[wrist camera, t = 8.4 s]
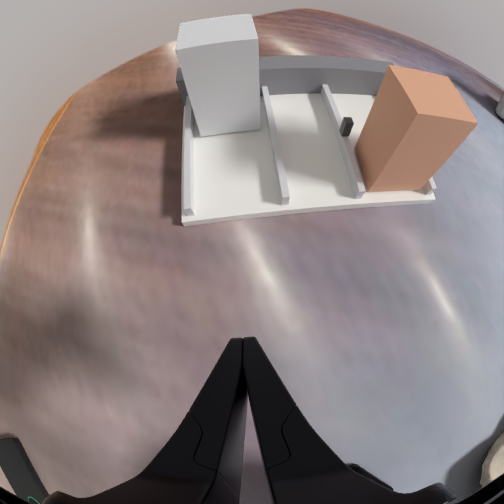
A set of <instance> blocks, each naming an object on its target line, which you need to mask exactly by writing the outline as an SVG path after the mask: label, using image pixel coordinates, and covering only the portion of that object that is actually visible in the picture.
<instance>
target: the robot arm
mask: <svg viewBox="0 0 504 504" xmlns="http://www.w3.org/2000/svg"><path fill="white" fill-rule="evenodd" d="M248 397H249V402H250V407H251V412H252V416H253V421H254V426H255V431H256V435H257V440H258V444H259V449H260V454H261V458H262V462H263V467H264V471H265V476H266V480H267V484H268V488H269V493H270V497H271V501H272V504H446V503H448V502H450V501H452V500H454V499H455V498H456V496H455V494H454V493H453V492H452V491H451V490H450V489H449V488H447V487H446V486H444V485H443V484H442V483H435V484H433V485H430V486H428V487H426V488H423V489H421V490H419V491H416V492H413V493H406V494H404V493H398V492H395V491H393V488H392V487H391V486H389V485H388V484H386V483H385V482H383V481H381V480H380V479H378V478H377V477H375V476H374V475H372V474H371V473H369V472H368V471H366V470H365V469H363V468H362V467H360V466H359V465H357V464H353V465H351V466H350V467H348V466H347V465H346V464H345V463H344V462H343V461H342V460H341V459H340V458H339V457H338V456H337V455H336V454H335V453H334V452H333V451H332V450H331V449H330V447H329V446H328V445H327V444H326V443H325V442H324V441H323V440H322V439H321V438H320V436H319V435H318V434H317V433H316V432H315V430H314V429H313V428H312V427H311V426H310V424H309V423H308V421H307V420H306V418H305V417H304V416H303V414H302V413H301V411H300V409H299V408H298V406H296V403H295V402H294V400H293V399H292V397H291V395H290V394H289V392H288V390H287V389H286V387H285V386H284V384H283V382H282V381H281V379H280V377H279V376H278V374H277V372H276V371H275V369H274V368H273V366H272V364H271V363H270V361H269V359H268V358H267V356H266V354H265V352H264V351H263V349H262V347H261V346H260V344H259V342H258V341H257V339H256V338H255V337H244V338H231V339H230V341H229V342H228V344H227V346H226V348H225V349H224V351H223V353H222V355H221V356H220V358H219V360H218V362H217V363H216V365H215V367H214V369H213V370H212V372H211V374H210V375H209V377H208V379H207V381H206V382H205V384H204V386H203V387H202V389H201V391H200V393H199V394H198V396H197V398H196V399H195V401H194V403H193V404H192V406H191V408H190V409H189V411H190V412H188V413H187V414H186V416H185V418H184V419H183V421H182V422H181V424H180V426H179V427H178V429H177V430H176V432H175V433H174V434H173V436H172V437H171V438H170V439H169V441H168V442H167V443H166V444H165V446H164V447H163V448H162V449H161V451H160V452H159V453H158V454H157V455H156V457H155V458H154V459H153V460H152V461H151V462H150V464H149V465H148V466H147V467H146V468H145V469H144V470H143V471H142V472H141V473H140V474H138V475H137V476H136V477H134V478H132V479H130V480H128V481H126V482H124V483H122V484H120V485H118V486H115V487H113V488H111V489H109V490H106V491H104V492H102V493H99V494H97V495H95V496H91V497H87V498H77V497H73V496H70V495H68V494H65V493H63V492H60V491H56V492H54V493H53V494H51V495H49V496H48V497H47V498H45V500H44V501H43V502H42V504H239V498H240V486H241V475H242V463H243V451H244V439H245V427H246V414H247V402H248ZM354 468H356V470H353V469H354ZM0 504H31V503H29V502H27V501H25V500H23V499H22V498H20V497H18V496H16V495H14V494H12V493H10V492H9V491H7V490H5V489H4V488H2V487H0ZM455 504H504V473H503V474H502V475H500V476H499V477H497V478H496V479H494V480H493V481H491V482H490V483H488V484H487V485H485V486H484V487H482V488H481V489H479V490H477V491H476V492H474V493H473V494H471V495H469V496H468V497H466V498H464V499H463V500H461V501H459V502H457V503H455Z"/></svg>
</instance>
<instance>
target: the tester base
mask: <svg viewBox="0 0 504 504" xmlns="http://www.w3.org/2000/svg"><path fill="white" fill-rule="evenodd" d="M388 65H392V66H394V65H393V63H392V62H385V61H378V60H370V59H361V58H350V57H335V56H267V57H259V84H260V123H261V129H260V130H249V131H240V132H232V133H224V134H216V135H209V136H203V137H201V135H200V132H199V129H198V125H197V122H196V119H195V115H194V112H193V109H192V105H191V102H190V99H189V95H188V92H187V89H186V85H185V82H184V78H183V75H182V71H181V68H178V69H177V77H176V83H177V86H178V89H179V92H180V95H181V98H182V101H183V104H184V116H183V138H182V183H181V207H182V224H183V225H184V226H192V225H200V224H208V223H216V222H225V221H233V220H242V219H250V218H259V217H269V216H278V215H288V214H298V213H309V212H319V211H331V210H342V209H355V208H368V207H382V206H396V205H413V204H431V203H432V202H433V201H434V200H436V199H435V196H434V193H433V192H434V191H435V190H436V189H437V188H436V185H435V182H434V180H433V177H431V178H430V179H429V180H428V181H427V182H426V183H425V184H424V185H423V187H422V188H421V189H420V190H399V191H377V192H368V190H367V186H366V183H365V180H364V177H363V173H362V170H361V167H360V164H359V161H358V158H357V155H356V152H355V149H354V148H355V145H356V143H357V141H358V138H359V136H360V134H361V131H362V129H363V127H364V124H365V122H366V120H367V117H368V115H369V112H370V110H371V108H372V105H373V103H374V100H375V98H376V95H377V93H378V90H379V88H380V85H381V83H382V80H383V78H384V75H385V72H386V70H387V67H388Z"/></svg>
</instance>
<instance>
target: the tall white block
mask: <svg viewBox="0 0 504 504" xmlns="http://www.w3.org/2000/svg"><path fill="white" fill-rule="evenodd" d="M175 51H176V54H177V58H178V61H179V65H180V68H181V71H182V75H183V78H184V82H185V85H186V89H187V92H188V95H189V99H190V102H191V105H192V109H193V112H194V115H195V119H196V122H197V125H198V129H199V132H200V135H201V137H203V136H209V135H216V134H224V133H232V132H240V131H249V130H260V129H261V123H260V84H259V50H258V37H257V33H256V29H255V26H254V22H253V19H252V16H251V14H241V15H231V16H223V17H214V18H207V19H201V20H195V21H190V22H185V23H181V24H180V28H179V33H178V38H177V44H176V49H175Z"/></svg>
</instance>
